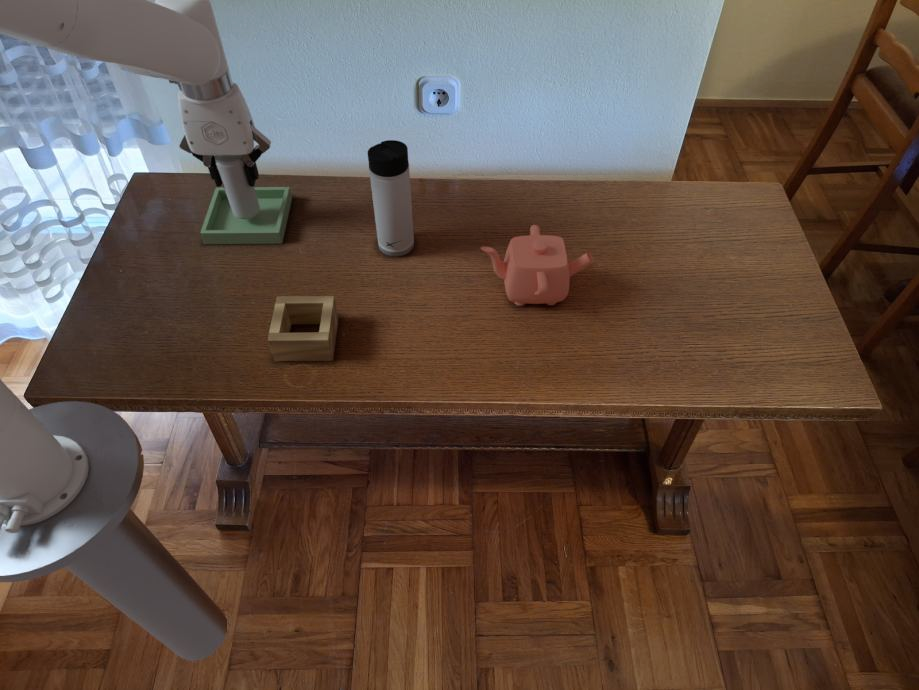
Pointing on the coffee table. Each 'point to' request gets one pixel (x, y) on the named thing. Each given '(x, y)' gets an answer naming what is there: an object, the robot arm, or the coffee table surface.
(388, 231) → the travel mug
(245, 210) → the beverage can
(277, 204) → the tray
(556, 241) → the teapot
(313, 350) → the holder
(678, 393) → the coffee table surface
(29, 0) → the robot arm
